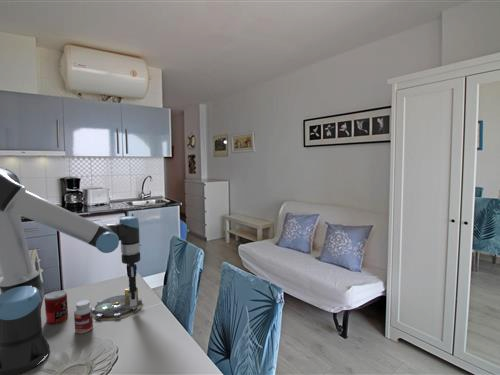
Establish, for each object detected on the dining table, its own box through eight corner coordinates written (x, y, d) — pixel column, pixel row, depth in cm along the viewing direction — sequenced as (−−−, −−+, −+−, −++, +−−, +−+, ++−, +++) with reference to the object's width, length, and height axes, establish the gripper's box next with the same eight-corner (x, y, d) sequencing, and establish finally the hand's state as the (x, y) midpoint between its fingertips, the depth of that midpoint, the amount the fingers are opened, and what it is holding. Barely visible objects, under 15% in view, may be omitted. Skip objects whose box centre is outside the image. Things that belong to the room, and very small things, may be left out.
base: (143, 313, 126) (143, 313, 126) (89, 325, 117) (89, 324, 117) (139, 294, 145) (139, 293, 145) (92, 303, 136) (92, 302, 136)
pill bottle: (73, 335, 110) (71, 307, 109) (77, 326, 116) (75, 300, 115) (91, 332, 112) (89, 305, 111) (94, 324, 118) (93, 298, 117)
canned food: (57, 325, 117) (55, 299, 116) (41, 323, 119) (39, 297, 118) (72, 315, 125) (71, 291, 124) (57, 313, 126) (55, 289, 126)
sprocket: (143, 312, 126) (143, 295, 125) (89, 324, 117) (87, 306, 116) (139, 293, 145) (139, 278, 144) (92, 302, 136) (91, 286, 135)
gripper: (141, 255, 120) (143, 309, 122) (138, 247, 132) (141, 297, 134) (121, 258, 117) (124, 314, 119) (121, 249, 129) (123, 300, 131)
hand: (133, 305), depth 126 cm, fingers closed
